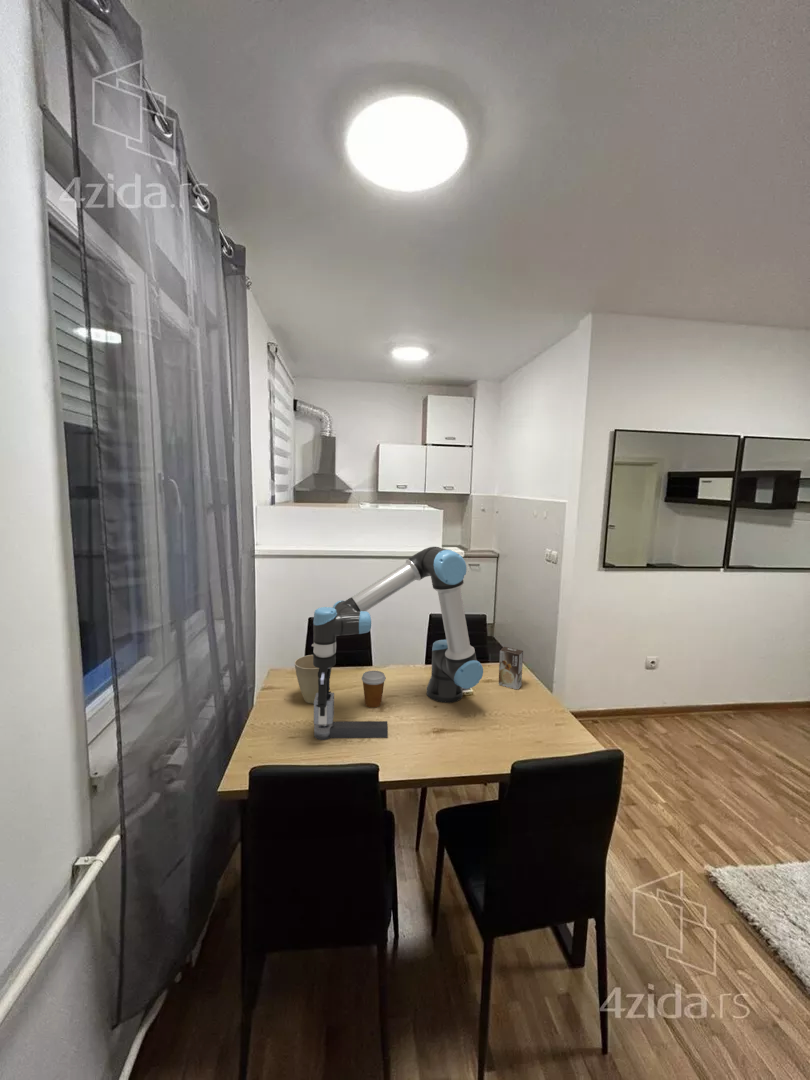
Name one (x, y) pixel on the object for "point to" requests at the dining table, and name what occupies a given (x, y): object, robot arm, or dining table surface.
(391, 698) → the dining table surface
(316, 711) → the socket
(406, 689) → the dining table surface
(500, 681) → the coffee box
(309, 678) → the plant pot
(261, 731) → the dining table surface
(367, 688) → the disposable coffee cup
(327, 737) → the ratchet
